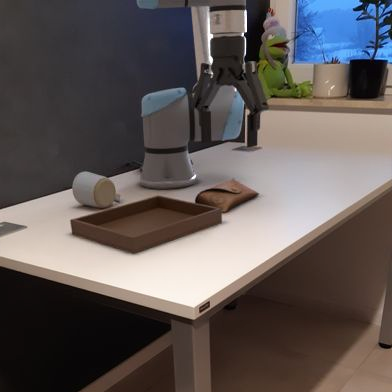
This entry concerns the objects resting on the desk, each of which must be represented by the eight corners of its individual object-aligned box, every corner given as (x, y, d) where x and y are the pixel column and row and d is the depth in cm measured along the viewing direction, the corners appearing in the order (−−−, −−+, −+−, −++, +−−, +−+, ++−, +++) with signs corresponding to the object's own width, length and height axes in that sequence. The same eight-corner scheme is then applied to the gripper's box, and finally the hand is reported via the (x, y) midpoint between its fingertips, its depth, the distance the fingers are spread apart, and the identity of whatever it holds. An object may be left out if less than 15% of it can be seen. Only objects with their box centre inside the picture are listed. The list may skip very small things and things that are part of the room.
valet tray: (72, 234, 111) (69, 219, 110) (158, 208, 126) (158, 195, 125) (134, 253, 99) (132, 237, 98) (221, 222, 114) (221, 208, 113)
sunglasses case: (227, 211, 120) (213, 183, 119) (204, 223, 124) (190, 197, 123) (261, 193, 133) (249, 168, 132) (239, 205, 138) (227, 181, 136)
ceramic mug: (97, 211, 125) (93, 177, 121) (73, 207, 130) (69, 174, 126) (129, 202, 132) (126, 170, 129) (106, 198, 137) (102, 166, 133)
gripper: (172, 38, 117) (178, 142, 127) (264, 32, 102) (262, 150, 112) (196, 38, 122) (199, 138, 132) (287, 32, 107) (283, 145, 117)
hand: (228, 144), depth 122 cm, fingers open, 13 cm apart
